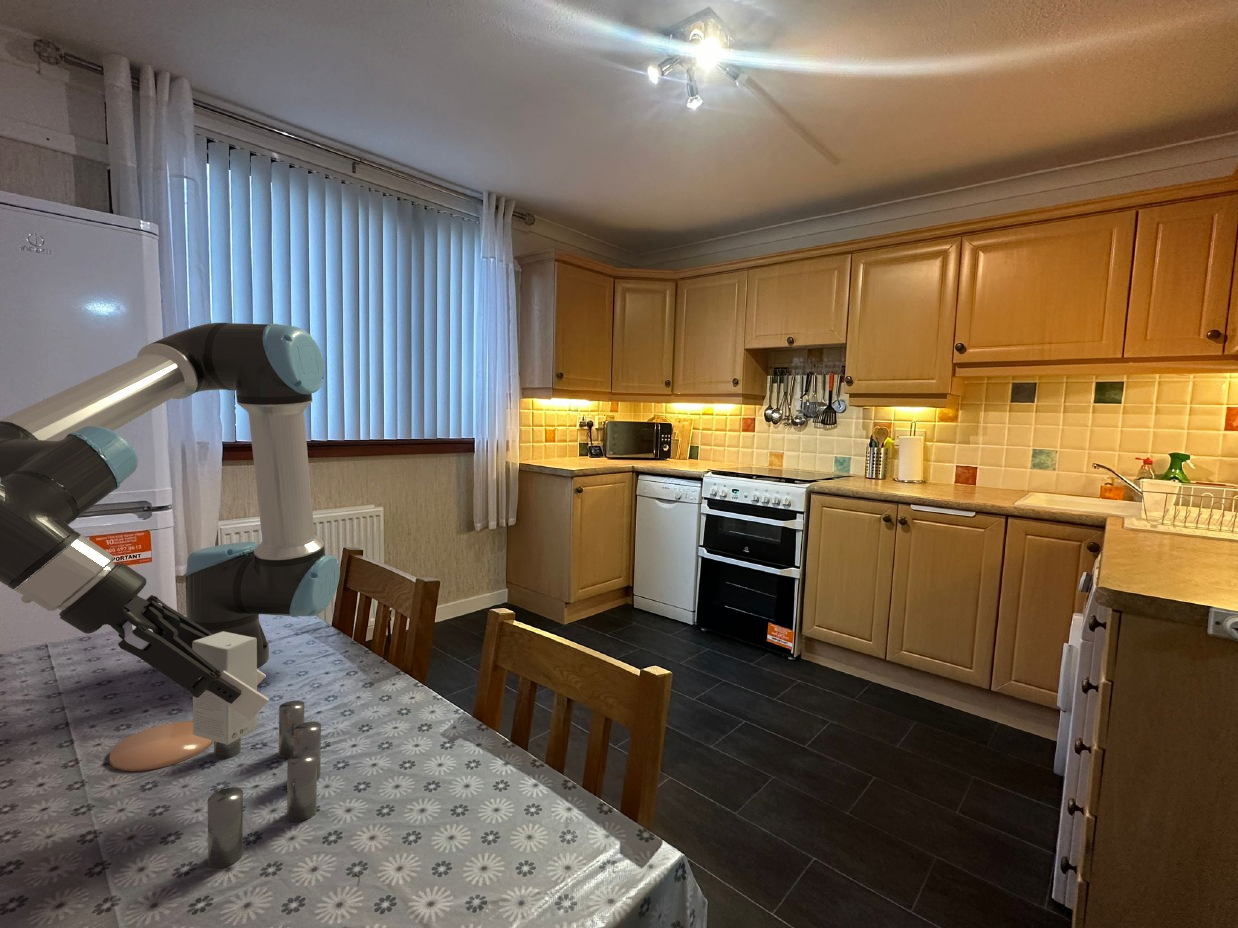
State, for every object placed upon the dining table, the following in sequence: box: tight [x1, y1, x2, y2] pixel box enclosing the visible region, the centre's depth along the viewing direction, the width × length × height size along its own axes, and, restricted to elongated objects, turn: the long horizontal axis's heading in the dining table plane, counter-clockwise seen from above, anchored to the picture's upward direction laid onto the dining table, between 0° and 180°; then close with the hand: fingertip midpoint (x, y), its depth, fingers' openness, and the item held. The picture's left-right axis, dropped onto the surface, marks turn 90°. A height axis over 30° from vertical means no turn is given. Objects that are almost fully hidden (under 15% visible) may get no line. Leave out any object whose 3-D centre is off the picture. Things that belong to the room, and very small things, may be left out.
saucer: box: [109, 720, 214, 772], centre depth 86 cm, size 12×12×1 cm
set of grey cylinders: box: [207, 700, 322, 870], centre depth 76 cm, size 21×24×7 cm
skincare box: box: [192, 631, 258, 744], centre depth 74 cm, size 6×4×12 cm
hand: (258, 695), depth 76 cm, fingers closed on skincare box, 7 cm apart
